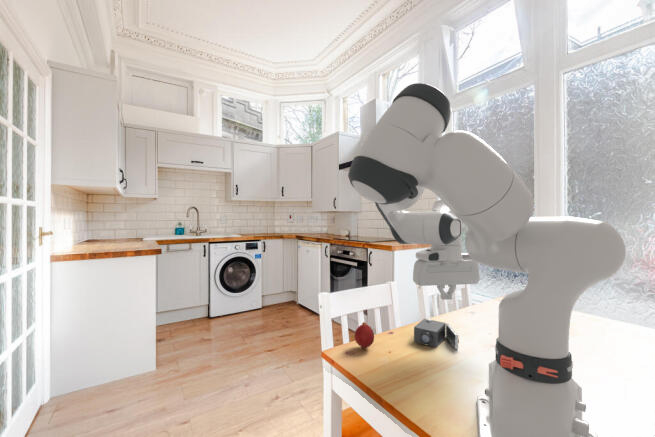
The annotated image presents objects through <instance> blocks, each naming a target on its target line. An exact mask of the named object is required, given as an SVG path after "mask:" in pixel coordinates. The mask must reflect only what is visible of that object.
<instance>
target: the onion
mask: <svg viewBox="0 0 655 437" xmlns="http://www.w3.org/2000/svg"><path fill="white" fill-rule="evenodd" d="M354 332H355V333H354V340H355V342H356V344H358V346H360V348H361V349H362V350H366V349H368V348H369V347H370V346H372V344H373V343H374V341H375V333H374V330H373V329H372V327H371V326H369V325H368V324H367V322H366V321H363V322H362V324H361V325H359V326H358V327H357V328H356V330H355V331H354Z"/></svg>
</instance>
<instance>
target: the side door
mask: <svg viewBox="0 0 655 437" xmlns="http://www.w3.org/2000/svg"><path fill="white" fill-rule="evenodd" d="M445 338H446V339H447V340H448V341H449V342H450V343H451V345H452V347H453V348H454V349H455V350H458V349H459V343H460V339H459V334H458V333H456V331H455V329H454V328H453V327H452V326H451V325H450V323H446V337H445Z"/></svg>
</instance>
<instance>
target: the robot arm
mask: <svg viewBox="0 0 655 437" xmlns="http://www.w3.org/2000/svg"><path fill="white" fill-rule="evenodd" d="M452 108H453V106H452V104H451V102H450V100H449V98H448V97H447V96H446V95H445V94H444V92H443V91H441V90H440V89H438V88H437V87H435V86H434V85H431V84H426V83H422V82H421V83H418V82H417V83H412V84H409V85H407V86H405V87H404V88H403V89H402V90H401V91H400V92H399V93H398V94H397V95H396V96H395V97H394V98H393V100H392V102H391V105H390V106H389V107H388V108H386V111H385V112H384V113H383V114H382V115H381V116H380V119H378V121H377V123H376V124H375V125H373V127H372V128H371V130H370V131H369V132H368V135H367V137H366V138H365V140H364V142H363V143H362V144H361V146H360V148H359V150H358V152H357V155H356V156H355V157H354V158H353V159H352V161H351V165H350V168H349V171H348V174H347V175H348V176H347V178H348V180H349V182H350V185H351V186H352V187H353V188H354V189H355V191H356V192H357V193H358V194H359V195H360V196H362V197H363V198H364V199H366V200H368V201H370V202H374V204H375V207H376V208H377V211H378V212H379V214H380V215H381V216H382V218H383V219H384V221H385V223H386V224H387V226H388V227H389V230H390V232H391V235H392V237H393V238H394V241H396V242H397V243H399V244H400V245H412V244H413V245H428V246H429V245H430V247H427V248H424V249H422V250H419V251H417V252H416V253H415V258H416V259H417V260H415V262H414V264H413V271H412V281H413V282H414V284H416V285H417V286H419V287H424V286H425V287H427V286H436V288H437V289H438V291H439V293H440V294H439V295H440V299H441V300H453V294H454V293H455V291H456V289H457V285H478V284H479V282H480V280H481V279H480V270H479V264H481V265H484V266H486V267H489V268H493V269H495V270H501V271H502V270H503V271H507V272H513V273H519V274H521V273H522V274H527V275H528V279H527V284H526V286H525V288H524V289H520V290H516V291H514V292H511V293H508V294H507V295H505V296H504V297H503V298H502V299H501V301H499V305H498V336H497V338H496V340H495V345H494V346H495V347H494V351H495V359H494V360H493V361H491V362H489V363H488V388H485V389H484V394H478V395H477V397H476V398H477V399H476V410H477V424H478V425H477V426H478V437H598V434H597V433H596V432H595V431H593V430H592V429H590V423H589V422H588V421H585V420H584V419H583V412H584V413H586V411H587V410H586V409H587V406H586V405H587V404H586V403H585V402H583V397H582V396H583V392H582V391H583V388H582V386H580V384H578V383H577V382H576V381H575V380H574V379H573V368H574V367H573V366H574V363H573V361H572V360H573V359H572V354H571V352H570V351H569V345H570V342H569V341H570V327H571V326H570V325H571V319H572V318H571V317H572V313H573V310H574V307H575V306H576V303H577V302H578V300H579V299H580V297H581V296H582V295H583V294H584V293H585V292H586V291H587V290H588V289H589V288H591V287H593V286H594V285H596V284H599V283H600V282H603V281H605V280H607V279H609V278H611V277H612V276H614V275H615V274H616V273H617V272H618V271H619V270H620V268H621V267H622V265H623V264H624V261H625V258H626V244H625V242H624V239H623V238H622V235H621V234H620V233H619V231H618V230H617V229H616V228H615V227H614V226H613V225H611V224H610V223H608V221H607V222H606V221H602V220H596V219H591V218H583V217H577V216H576V217H575V216H533V213H534V210H535V200H534V196H533V193H532V192H531V190H530V189H529V188H528V187H527V185H526V184H525V183H524V182H523V180H522V179H521V178H520V177H519V175H518V174H517V173H516V172H515V171H514V169H513V168H512V167H511V166H510V165H509V164H508V162H507V161H506V160H505V159H504V158H503V157H502V156H501V155H500V153H498V152H497V151H496V150H495V149H493V148H492V147H491V146H490V145H489V144H487V143H486V142H485V141H484V140H483V139H481V138H479V136H477V135H475V134H474V133H472V132H469V131H466V130H455V131H450V132H448V133H445V131H446V130H447V128H448V126H449V123H450V120H451V117H452V111H453V109H452ZM443 133H445V134H443ZM442 134H443V135H442ZM425 189H427V190H429V191H431V192H432V193H434V194H435V195H436V196H437V197H438V198H439V200H437V201H434V202H433V205H432V210H428V211H427V210H425V211H419V210H418V211H416V210H415V211H409V210H408V211H407V209H409V208H411V207H412V206H414V205H415V204H416V203H417V202H418V201H419V200H420V198H421V197H422V196H423V193H424V192H425ZM463 223H464V225H466V226H467V227H468V230H467V232H466V235H465V239H464V245H465V250H466V252H467V253H463V240H462V233H463ZM445 286H447V287H448V290H447V291H446V292H445V290H444V289H445Z"/></svg>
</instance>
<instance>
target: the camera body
mask: <svg viewBox="0 0 655 437" xmlns="http://www.w3.org/2000/svg"><path fill="white" fill-rule="evenodd" d="M446 324H447V322H443V321H437V320H434V319H431V318H423V319H422V320H420V321H419V322H418V323H417V324H416V325H415V326H413V342H414V343H418V344H422V345H426V346H430V347H434V348H438V347H439V345H440V344H442V342H443V341H444V340H445V339H446V338H447V337H446Z"/></svg>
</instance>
